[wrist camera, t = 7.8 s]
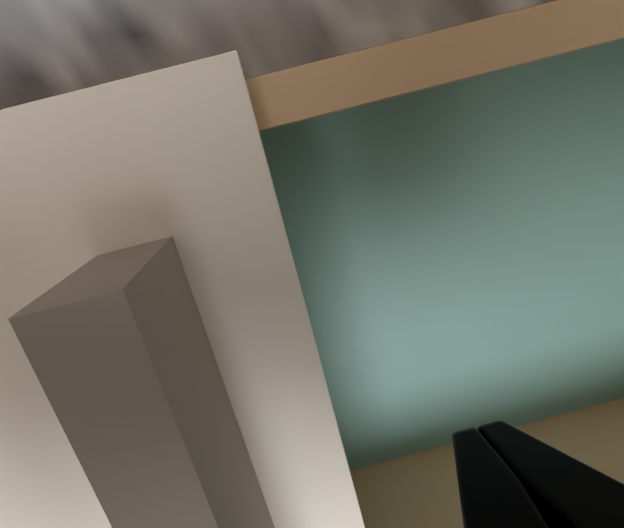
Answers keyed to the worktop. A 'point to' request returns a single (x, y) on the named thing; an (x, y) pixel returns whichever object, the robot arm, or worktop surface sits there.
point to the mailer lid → (156, 318)
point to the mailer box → (460, 242)
